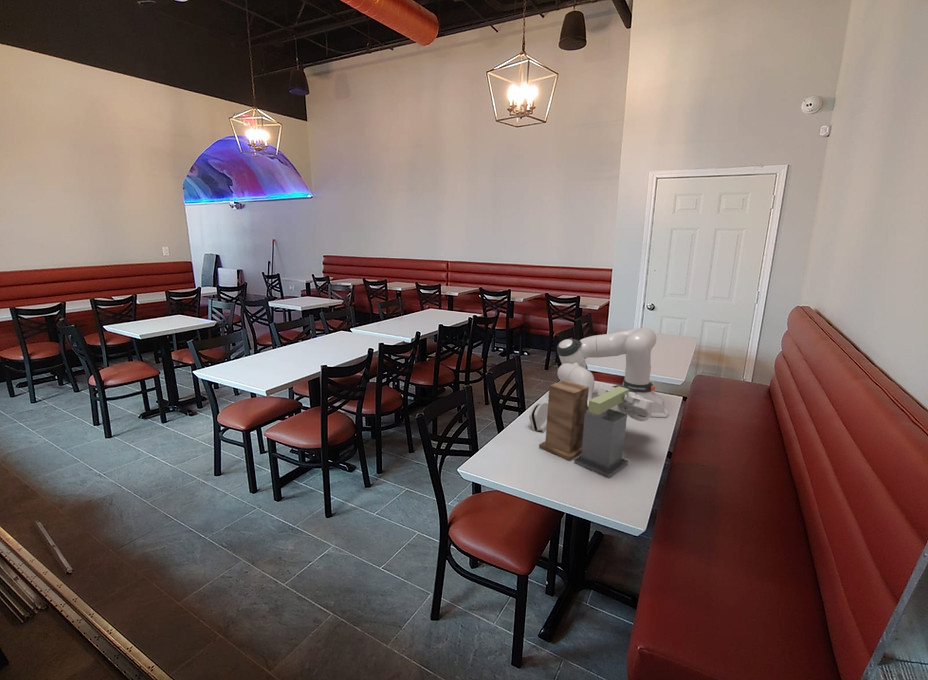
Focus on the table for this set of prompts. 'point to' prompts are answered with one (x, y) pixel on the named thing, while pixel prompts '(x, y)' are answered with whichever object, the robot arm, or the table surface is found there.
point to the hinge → (539, 417)
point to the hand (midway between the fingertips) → (617, 394)
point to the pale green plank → (607, 400)
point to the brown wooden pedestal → (565, 419)
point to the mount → (603, 443)
